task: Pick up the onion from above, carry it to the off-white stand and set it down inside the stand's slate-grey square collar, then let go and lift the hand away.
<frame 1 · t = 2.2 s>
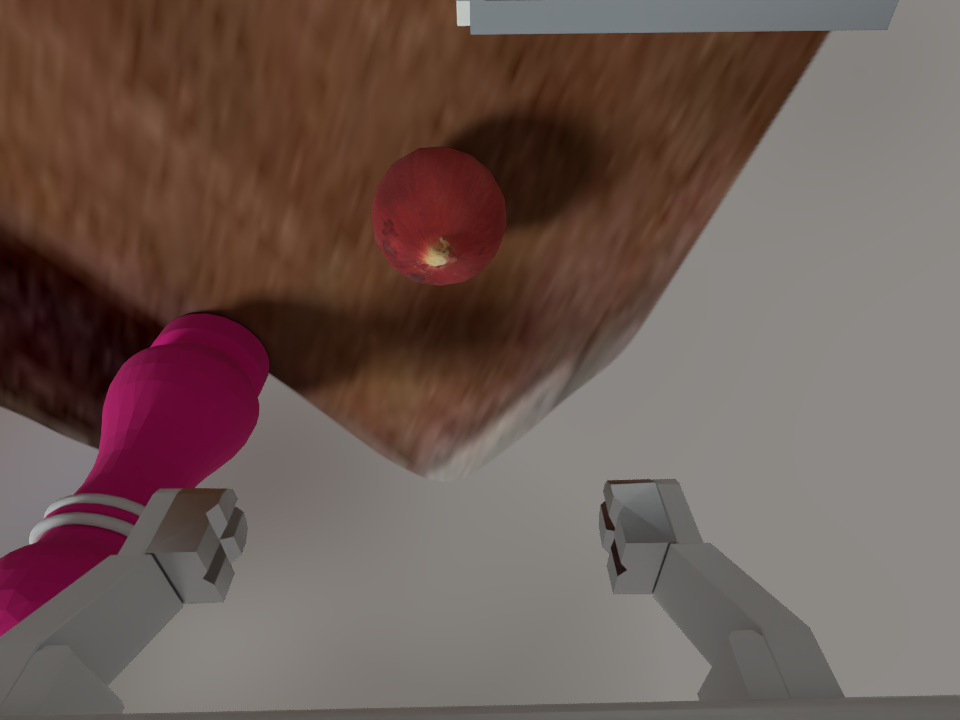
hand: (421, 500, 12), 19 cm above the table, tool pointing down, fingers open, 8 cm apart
pepper mill: (217, 353, 33), on the table
onion: (441, 186, 27), on the table
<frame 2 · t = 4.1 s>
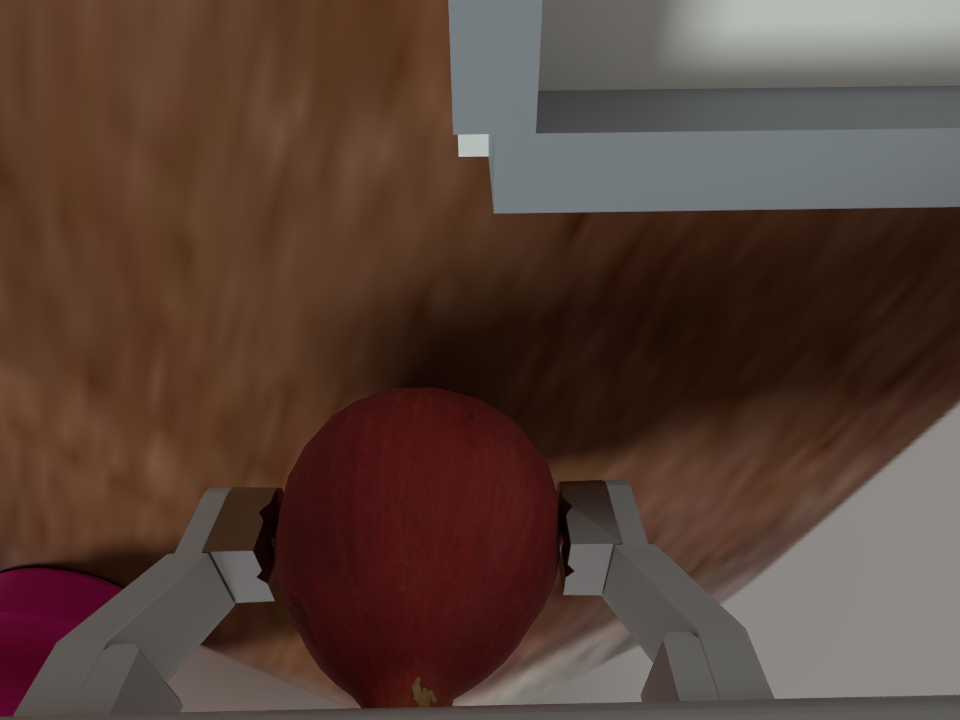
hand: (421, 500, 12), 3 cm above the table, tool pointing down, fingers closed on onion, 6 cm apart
pepper mill: (77, 607, 21), on the table
onion: (430, 402, 15), on the table, touching gripper
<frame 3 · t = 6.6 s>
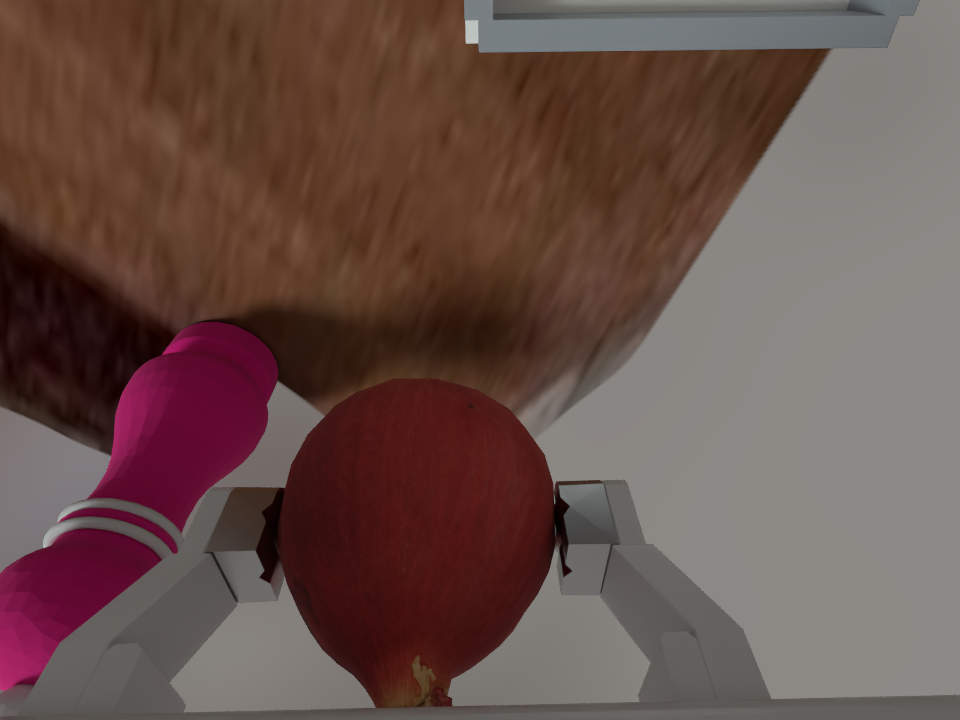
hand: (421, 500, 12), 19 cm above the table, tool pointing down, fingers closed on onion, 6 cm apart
pepper mill: (227, 361, 33), on the table
onion: (429, 394, 15), point 15 cm above the table, touching gripper
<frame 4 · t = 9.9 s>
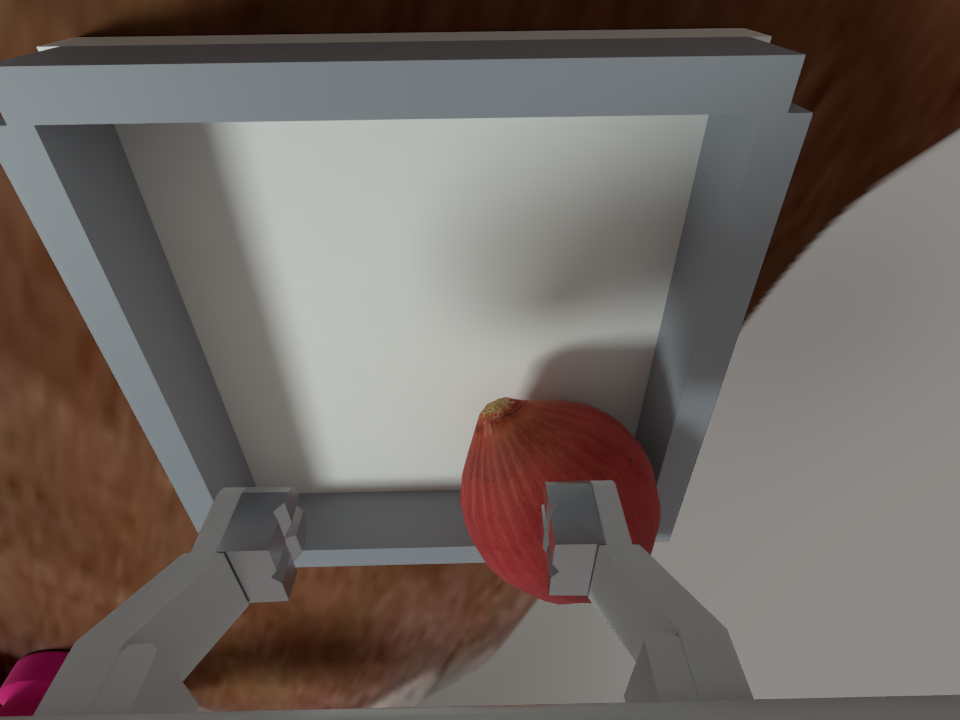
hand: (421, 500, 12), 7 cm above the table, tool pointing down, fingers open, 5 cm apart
pepper mill: (77, 670, 33), on the table
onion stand: (432, 314, 18), on the table
onion: (481, 401, 16), point 3 cm above the table, touching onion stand
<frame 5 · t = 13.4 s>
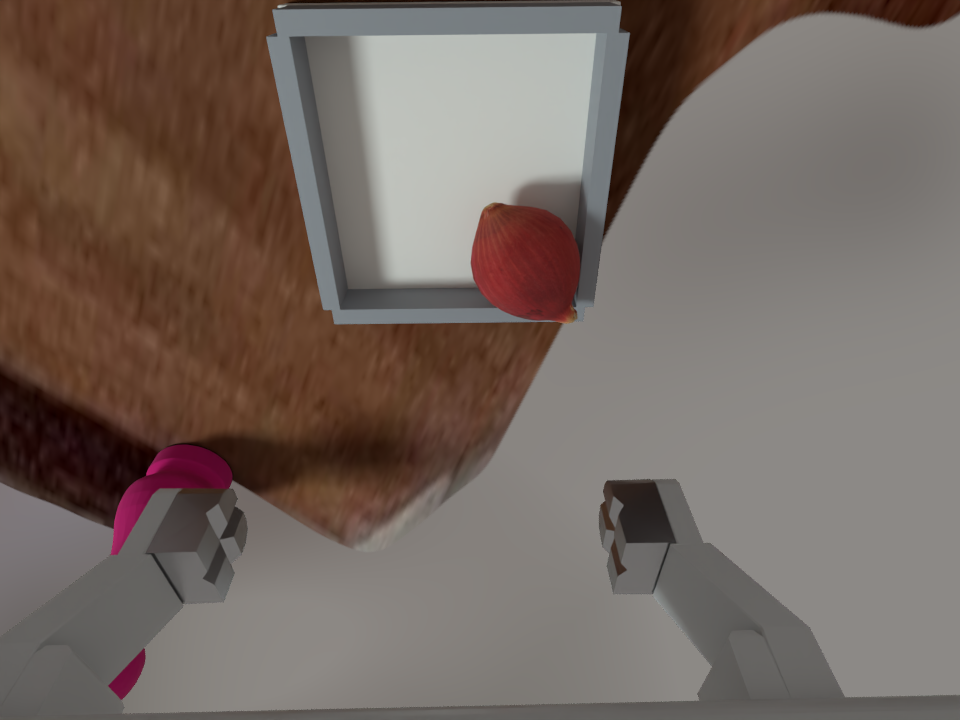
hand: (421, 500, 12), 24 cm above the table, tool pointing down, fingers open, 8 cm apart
pepper mill: (196, 467, 46), on the table
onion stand: (456, 167, 31), on the table
onion: (483, 203, 29), point 3 cm above the table, touching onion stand
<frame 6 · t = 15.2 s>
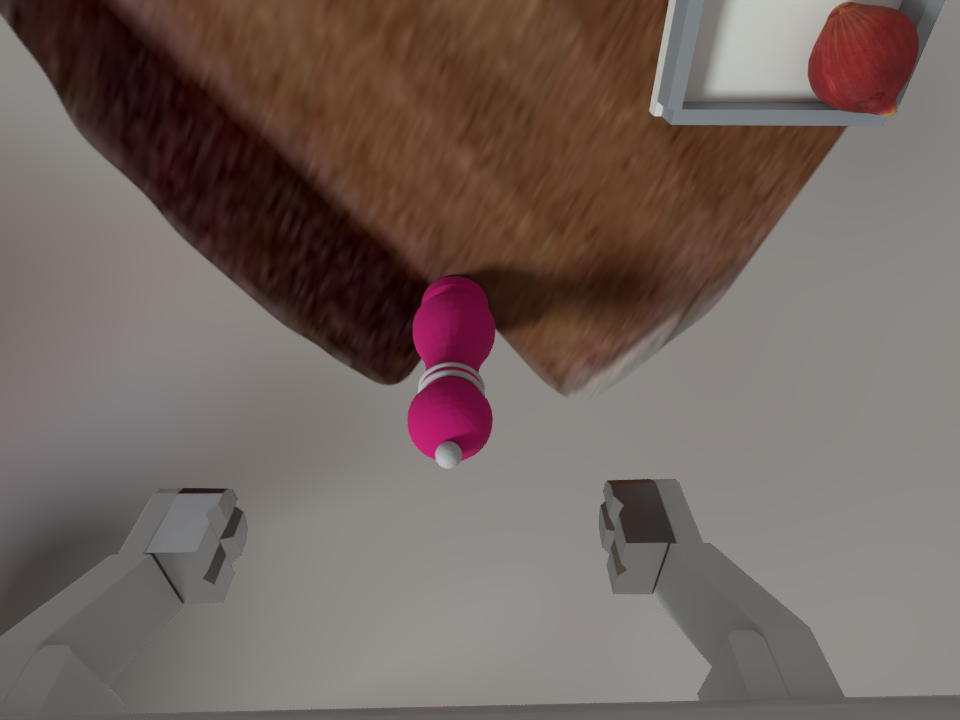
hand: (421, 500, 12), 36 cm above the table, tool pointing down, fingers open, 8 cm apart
pepper mill: (455, 303, 51), on the table
onion: (834, 3, 35), point 3 cm above the table, touching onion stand
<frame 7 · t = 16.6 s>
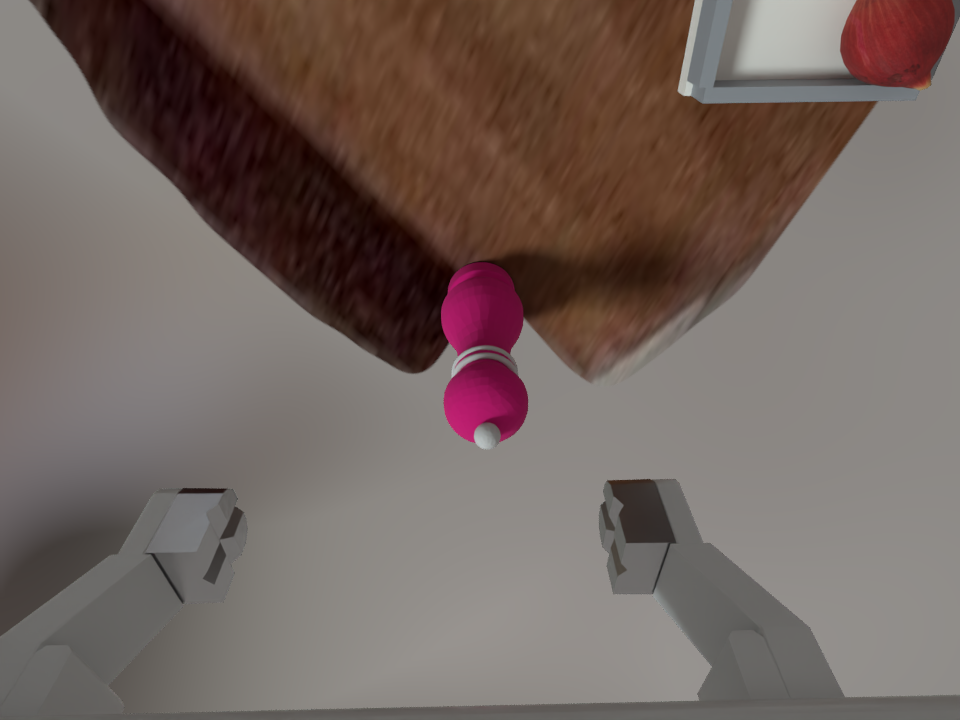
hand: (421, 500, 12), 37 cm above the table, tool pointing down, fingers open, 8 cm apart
pepper mill: (481, 290, 52), on the table
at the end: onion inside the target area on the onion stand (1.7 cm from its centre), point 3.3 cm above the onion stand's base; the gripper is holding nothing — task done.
